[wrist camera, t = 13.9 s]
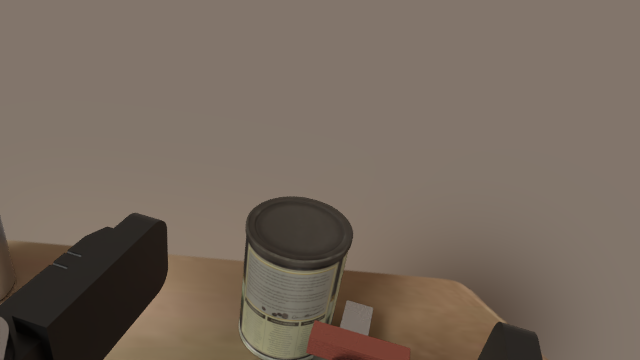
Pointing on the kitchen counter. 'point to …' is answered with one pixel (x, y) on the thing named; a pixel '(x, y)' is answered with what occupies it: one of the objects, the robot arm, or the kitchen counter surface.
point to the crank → (352, 339)
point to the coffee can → (290, 274)
